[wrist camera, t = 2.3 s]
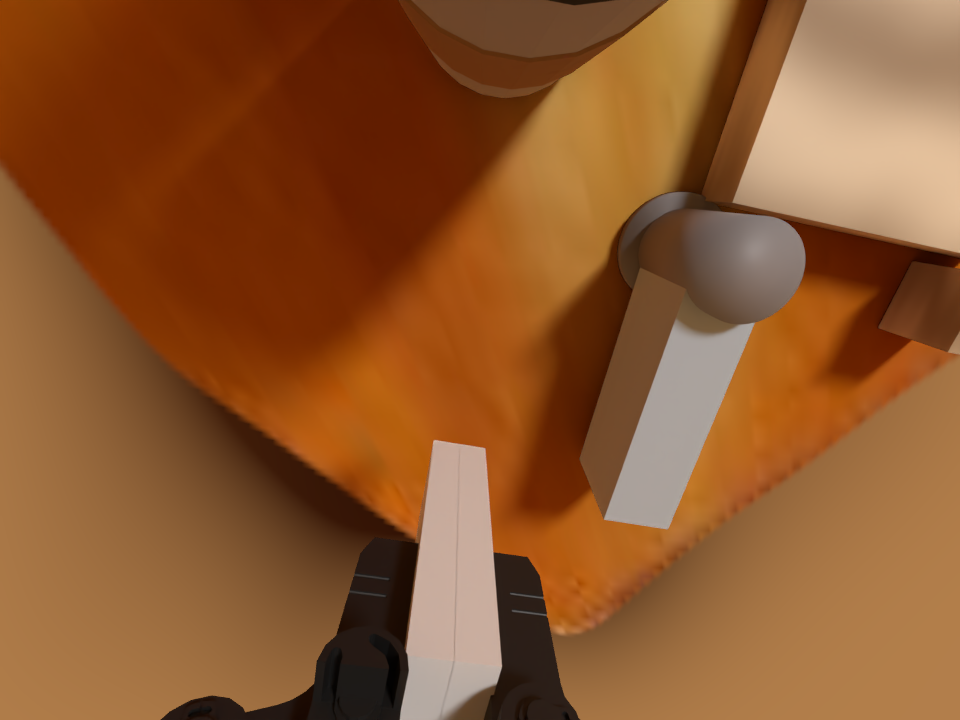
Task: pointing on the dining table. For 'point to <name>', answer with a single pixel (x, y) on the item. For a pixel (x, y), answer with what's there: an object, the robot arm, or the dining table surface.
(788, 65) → the seat panel
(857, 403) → the dining table surface
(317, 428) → the dining table surface
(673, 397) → the leg bar
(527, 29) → the coffee cup
